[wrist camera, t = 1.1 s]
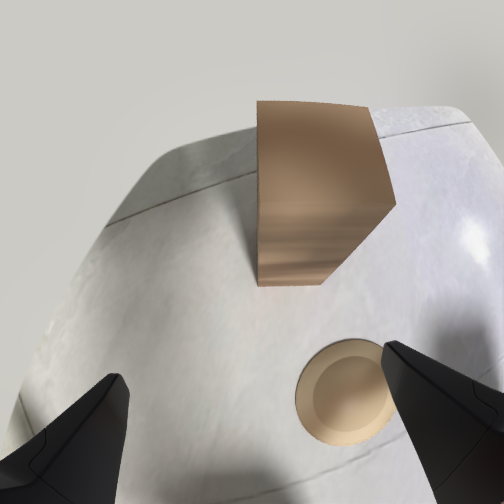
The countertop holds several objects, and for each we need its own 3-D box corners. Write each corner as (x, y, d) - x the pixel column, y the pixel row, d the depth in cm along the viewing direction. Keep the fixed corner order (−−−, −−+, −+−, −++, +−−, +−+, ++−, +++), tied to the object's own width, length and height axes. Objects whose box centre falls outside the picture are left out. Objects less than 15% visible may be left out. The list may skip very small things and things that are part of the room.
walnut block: (320, 284, 23) (396, 203, 10) (257, 286, 23) (259, 201, 10) (315, 227, 25) (367, 107, 11) (256, 227, 25) (256, 100, 11)
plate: (418, 375, 20) (419, 375, 20) (356, 461, 18) (356, 462, 18) (341, 318, 22) (342, 317, 22) (271, 409, 20) (271, 409, 20)
